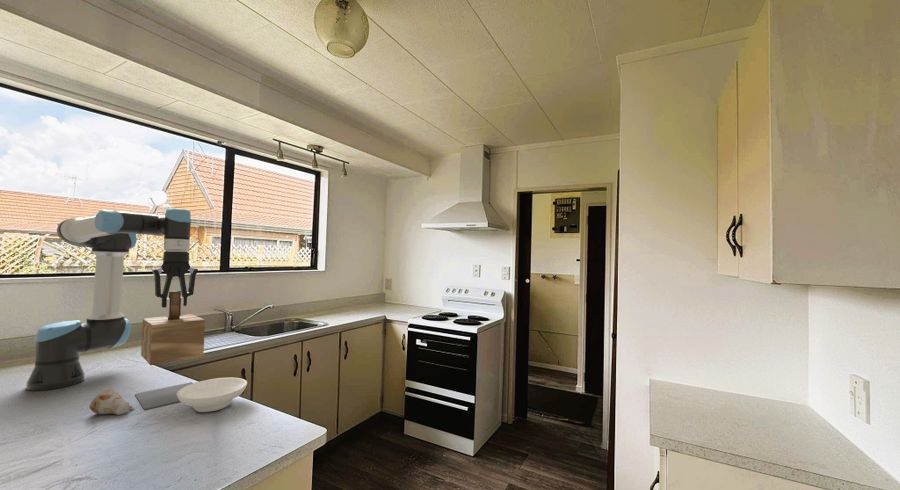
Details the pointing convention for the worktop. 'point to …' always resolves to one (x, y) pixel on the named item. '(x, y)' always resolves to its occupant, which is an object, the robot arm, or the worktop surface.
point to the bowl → (211, 393)
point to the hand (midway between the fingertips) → (173, 315)
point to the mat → (159, 396)
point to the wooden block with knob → (172, 335)
